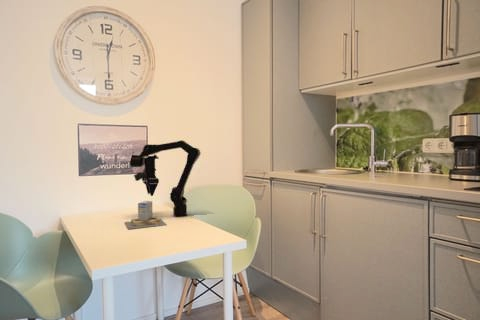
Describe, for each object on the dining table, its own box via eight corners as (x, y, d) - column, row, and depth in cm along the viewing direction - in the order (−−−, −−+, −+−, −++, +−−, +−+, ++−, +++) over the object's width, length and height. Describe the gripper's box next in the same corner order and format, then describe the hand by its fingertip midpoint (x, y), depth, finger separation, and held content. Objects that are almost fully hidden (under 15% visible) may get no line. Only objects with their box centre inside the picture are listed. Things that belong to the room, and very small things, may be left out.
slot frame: (156, 220, 169) (156, 216, 169) (159, 223, 162) (159, 219, 162) (131, 222, 164) (131, 218, 164) (133, 226, 156) (133, 222, 156)
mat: (160, 219, 174) (160, 218, 174) (167, 226, 159) (167, 224, 159) (124, 223, 166) (124, 221, 166) (128, 229, 152) (128, 228, 152)
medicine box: (144, 217, 167) (143, 200, 167) (152, 217, 166) (152, 200, 166) (137, 220, 159) (137, 203, 159) (146, 221, 159) (146, 203, 158)
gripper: (132, 166, 188) (133, 193, 188) (137, 168, 171) (137, 198, 171) (152, 166, 192) (152, 192, 193) (158, 167, 175) (159, 196, 176)
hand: (150, 194), depth 183 cm, fingers open, 9 cm apart
